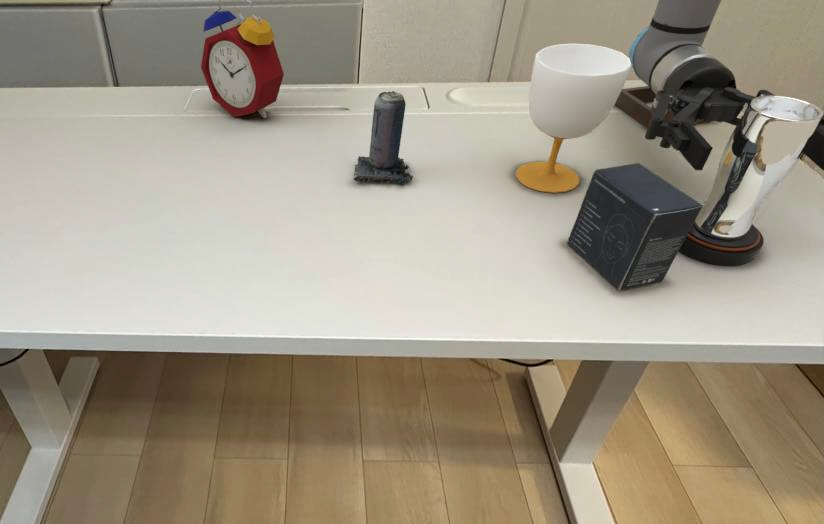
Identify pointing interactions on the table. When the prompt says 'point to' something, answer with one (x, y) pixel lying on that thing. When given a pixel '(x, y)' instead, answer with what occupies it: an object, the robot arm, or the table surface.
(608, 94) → the cup
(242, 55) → the alarm clock
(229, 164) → the table surface
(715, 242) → the hot plate
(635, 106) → the wooden tray
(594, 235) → the box
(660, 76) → the robot arm
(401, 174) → the beverage can
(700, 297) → the table surface
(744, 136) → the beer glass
